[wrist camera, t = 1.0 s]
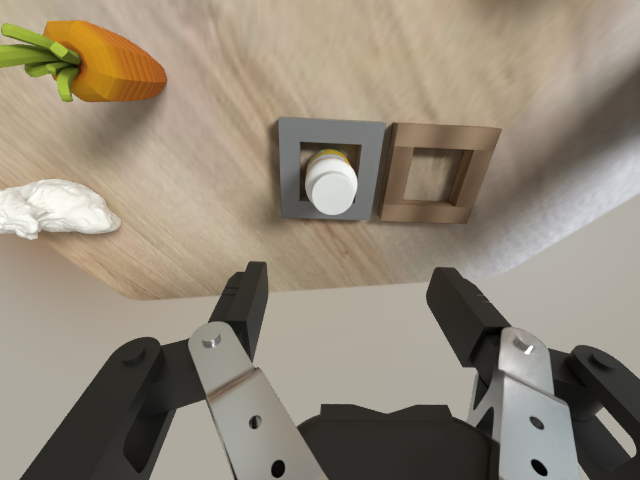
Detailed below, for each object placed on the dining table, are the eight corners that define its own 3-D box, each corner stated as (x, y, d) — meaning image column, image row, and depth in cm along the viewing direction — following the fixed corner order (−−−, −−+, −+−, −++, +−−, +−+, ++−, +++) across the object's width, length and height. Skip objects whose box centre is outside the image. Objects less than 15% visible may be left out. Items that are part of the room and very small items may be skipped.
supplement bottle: (345, 193, 33) (355, 225, 24) (304, 188, 32) (301, 219, 24) (353, 151, 30) (368, 170, 21) (309, 144, 29) (307, 161, 21)
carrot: (190, 60, 25) (57, 15, 12) (185, 111, 28) (67, 119, 14) (138, 38, 24) (-67, -37, 11) (137, 92, 27) (-35, 83, 13)
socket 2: (490, 127, 29) (502, 128, 27) (459, 217, 35) (466, 223, 33) (393, 122, 28) (398, 123, 27) (377, 214, 34) (380, 220, 32)
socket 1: (381, 121, 28) (385, 123, 27) (367, 214, 34) (370, 220, 32) (280, 116, 28) (278, 117, 26) (283, 211, 34) (281, 217, 32)
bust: (142, 203, 35) (81, 171, 24) (124, 255, 34) (51, 246, 23) (47, 181, 33) (-65, 136, 22) (24, 235, 32) (-106, 215, 21)
